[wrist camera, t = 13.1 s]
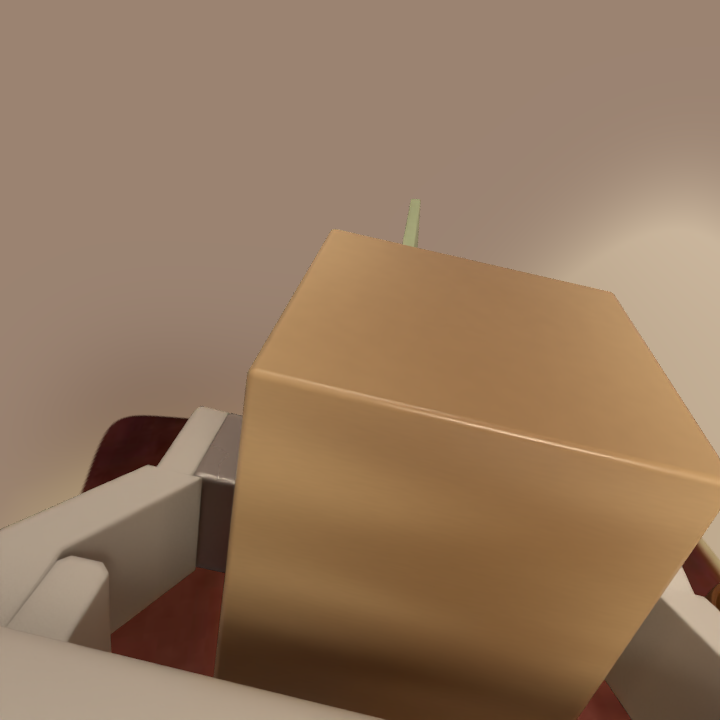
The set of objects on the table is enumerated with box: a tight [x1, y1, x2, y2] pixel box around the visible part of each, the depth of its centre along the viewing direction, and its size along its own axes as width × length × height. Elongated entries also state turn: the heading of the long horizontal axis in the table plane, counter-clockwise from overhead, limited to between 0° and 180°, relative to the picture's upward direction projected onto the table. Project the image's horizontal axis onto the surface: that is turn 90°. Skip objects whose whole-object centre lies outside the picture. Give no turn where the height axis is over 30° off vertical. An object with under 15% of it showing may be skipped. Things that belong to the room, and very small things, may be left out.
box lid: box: [402, 199, 420, 248], centre depth 41 cm, size 14×12×1 cm
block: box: [213, 229, 720, 720], centre depth 9 cm, size 4×4×8 cm
